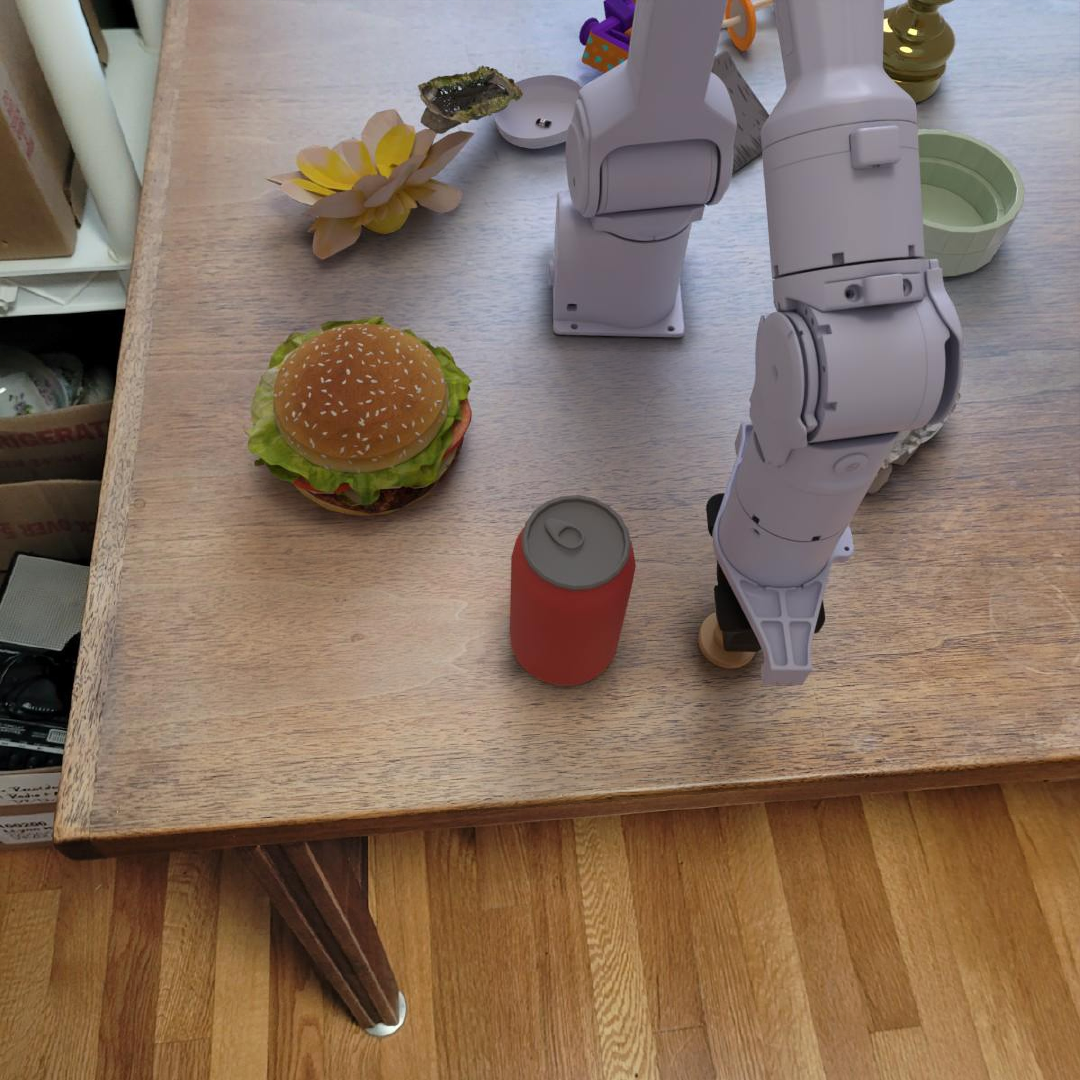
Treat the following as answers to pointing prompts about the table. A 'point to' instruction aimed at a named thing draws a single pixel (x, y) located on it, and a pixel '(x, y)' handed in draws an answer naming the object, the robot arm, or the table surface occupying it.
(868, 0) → the robot arm
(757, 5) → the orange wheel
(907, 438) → the egg carton
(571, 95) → the shallow white dish
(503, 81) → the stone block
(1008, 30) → the table surface
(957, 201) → the bowl
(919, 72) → the brass candlestick
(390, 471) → the food
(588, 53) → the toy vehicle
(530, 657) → the beer can
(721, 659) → the wooden pestle
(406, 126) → the decorative flower
